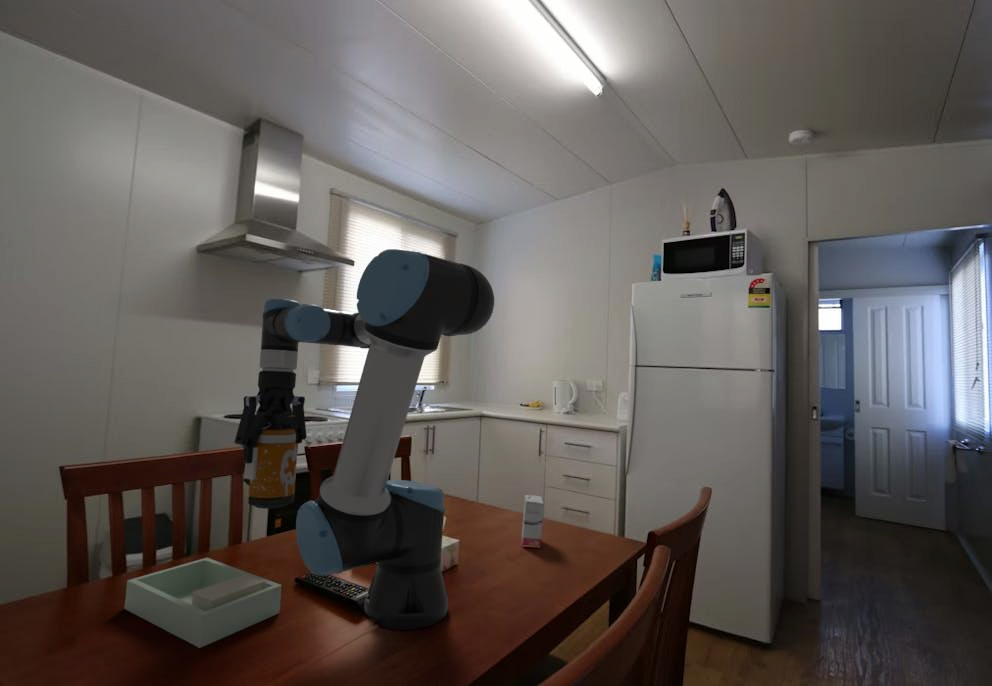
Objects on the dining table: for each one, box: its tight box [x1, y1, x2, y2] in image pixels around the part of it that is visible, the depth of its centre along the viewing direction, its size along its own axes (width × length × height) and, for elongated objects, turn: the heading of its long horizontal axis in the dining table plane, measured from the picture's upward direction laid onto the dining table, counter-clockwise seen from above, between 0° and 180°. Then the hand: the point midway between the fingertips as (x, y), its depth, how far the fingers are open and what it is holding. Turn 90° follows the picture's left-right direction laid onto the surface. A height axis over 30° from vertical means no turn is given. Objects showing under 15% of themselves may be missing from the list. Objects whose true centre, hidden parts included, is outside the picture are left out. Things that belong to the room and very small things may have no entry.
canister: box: [242, 412, 299, 510], centre depth 109 cm, size 9×11×20 cm
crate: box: [123, 557, 282, 649], centre depth 88 cm, size 22×14×6 cm, turn 61°
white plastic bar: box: [192, 575, 263, 611], centre depth 85 cm, size 5×9×6 cm, turn 151°
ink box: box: [521, 494, 545, 547], centre depth 136 cm, size 9×5×12 cm, turn 179°
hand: (269, 475), depth 109 cm, fingers closed on canister, 9 cm apart
